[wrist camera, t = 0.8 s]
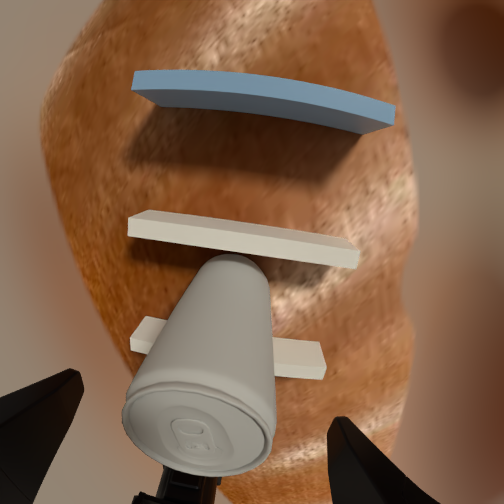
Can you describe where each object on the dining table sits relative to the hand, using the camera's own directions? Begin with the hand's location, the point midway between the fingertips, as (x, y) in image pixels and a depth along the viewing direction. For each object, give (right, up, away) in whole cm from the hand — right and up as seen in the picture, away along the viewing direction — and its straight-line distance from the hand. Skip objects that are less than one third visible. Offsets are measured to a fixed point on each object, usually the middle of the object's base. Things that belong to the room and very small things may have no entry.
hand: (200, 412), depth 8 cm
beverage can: (0, +3, +10) cm, 11 cm away
